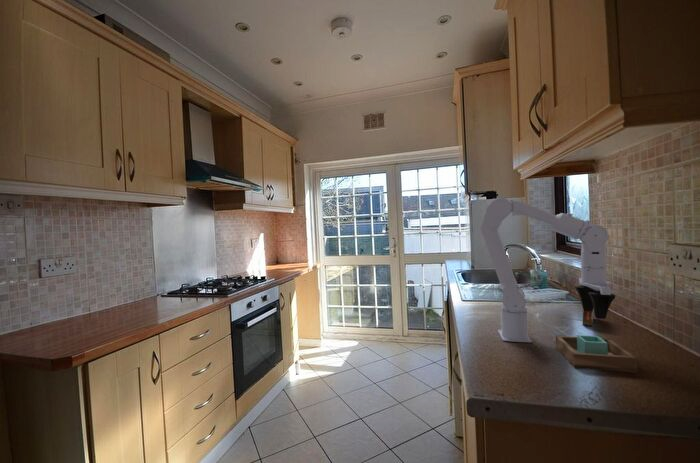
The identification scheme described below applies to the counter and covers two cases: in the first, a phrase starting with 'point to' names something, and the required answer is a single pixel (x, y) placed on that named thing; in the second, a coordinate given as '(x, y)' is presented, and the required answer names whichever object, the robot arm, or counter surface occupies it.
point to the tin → (588, 317)
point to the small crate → (591, 345)
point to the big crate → (597, 356)
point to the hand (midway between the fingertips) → (594, 314)
